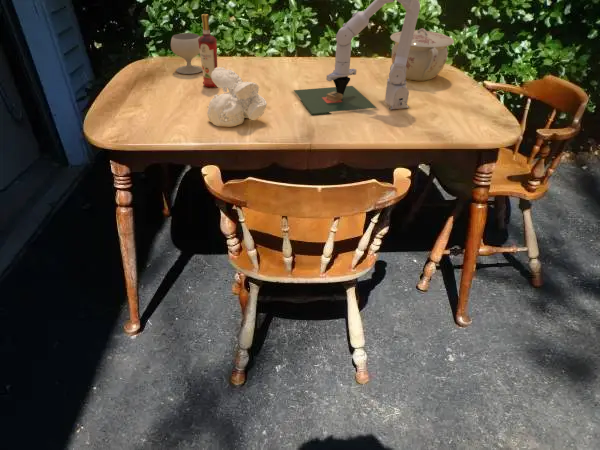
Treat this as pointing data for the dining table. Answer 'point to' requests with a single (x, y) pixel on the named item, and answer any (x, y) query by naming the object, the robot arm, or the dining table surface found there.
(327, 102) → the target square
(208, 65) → the liquor
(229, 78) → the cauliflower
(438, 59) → the chamber pot
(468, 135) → the dining table surface
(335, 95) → the letter tile
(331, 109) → the game board
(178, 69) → the chalice
